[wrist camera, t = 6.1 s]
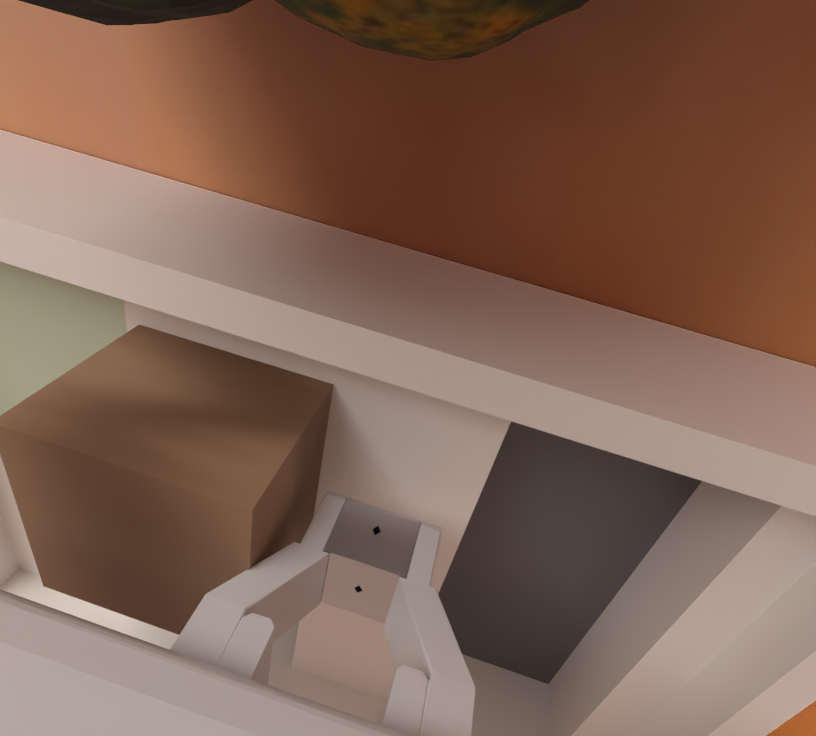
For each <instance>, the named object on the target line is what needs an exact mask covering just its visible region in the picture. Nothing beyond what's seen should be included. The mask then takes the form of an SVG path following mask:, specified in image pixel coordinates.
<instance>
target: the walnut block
mask: <svg viewBox="0 0 816 736" xmlns="http://www.w3.org/2000/svg"><path fill="white" fill-rule="evenodd" d="M333 385H334V384H331V383H328V382H324V381H321V380H318V379H315V378H311V377H308V376H305V375H302V374H298V373H295V372H292V371H289V370H285V369H282V368H279V367H276V366H272V365H269V364H266V363H263V362H259V361H256V360H253V359H250V358H246V357H243V356H240V355H237V354H233V353H230V352H227V351H224V350H220V349H217V348H214V347H211V346H207V345H204V344H201V343H198V342H194V341H191V340H188V339H185V338H182V337H178V336H175V335H172V334H169V333H165V332H162V331H159V330H156V329H152V328H149V327H146V326H143V325H138V326H136V327H134V328H133V329H131V330H130V331H128V332H127V333H125V334H124V335H122V336H121V337H119V338H118V339H116V340H115V341H113V342H112V343H110V344H109V345H107V346H106V347H104V348H102V349H101V350H99V351H98V352H96V353H95V354H93V355H92V356H90V357H89V358H87V359H86V360H84V361H83V362H81V363H80V364H78V365H77V366H75V367H74V368H72V369H70V370H69V371H67V372H66V373H64V374H63V375H61V376H60V377H58V378H57V379H55V380H54V381H52V382H51V383H49V384H48V385H46V386H45V387H43V388H42V389H40V390H38V391H37V392H35V393H34V394H32V395H31V396H29V397H28V398H26V399H25V400H23V401H22V402H20V403H19V404H17V405H16V406H14V407H13V408H11V409H10V410H8V411H6V412H5V413H3V414H2V415H0V455H1V458H2V461H3V464H4V467H5V470H6V473H7V476H8V480H9V483H10V486H11V489H12V492H13V495H14V498H15V501H16V504H17V507H18V510H19V513H20V516H21V519H22V522H23V525H24V529H25V532H26V535H27V538H28V541H29V544H30V547H31V550H32V553H33V556H34V559H35V562H36V565H37V568H38V571H39V574H40V577H41V581H42V584H43V586H44V587H47V588H50V589H52V590H55V591H58V592H61V593H64V594H66V595H69V596H72V597H75V598H78V599H80V600H83V601H86V602H89V603H92V604H94V605H97V606H100V607H103V608H105V609H108V610H111V611H114V612H117V613H119V614H122V615H125V616H128V617H131V618H133V619H136V620H139V621H142V622H145V623H147V624H150V625H153V626H156V627H158V628H161V629H164V630H167V631H170V632H172V633H175V634H178V635H180V633H181V632H182V630H183V629H184V627H185V626H186V624H187V622H188V621H189V619H190V618H191V616H192V615H193V613H194V611H195V610H196V608H197V607H198V605H199V604H200V602H201V600H202V599H203V597H204V596H205V594H207V593H208V592H210V591H212V590H213V589H215V588H217V587H218V586H220V585H222V584H224V583H225V582H227V581H229V580H230V579H232V578H234V577H235V576H237V575H239V574H240V573H242V572H244V571H246V570H250V568H251V567H252V566H254V565H256V564H257V563H259V562H261V561H263V560H264V559H266V558H268V557H269V556H271V555H273V554H274V553H276V552H278V551H280V550H281V549H283V548H285V547H286V546H288V545H290V544H291V543H293V542H297V543H301V541H302V539H303V537H304V535H305V533H306V531H307V529H308V527H309V525H310V523H311V521H312V519H313V517H314V510H315V503H316V497H317V490H318V484H319V477H320V470H321V464H322V457H323V451H324V444H325V437H326V431H327V424H328V418H329V411H330V405H331V398H332V391H333Z"/></svg>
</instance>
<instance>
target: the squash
mask: <svg viewBox="0 0 816 736" xmlns="http://www.w3.org/2000/svg"><path fill="white" fill-rule="evenodd" d="M19 1H23V2H26V3H30V4H33V5H37V6H41V7H44V8H48V9H51V10H55V11H58V12H62V13H65V14H69V15H73V16H76V17H80V18H83V19H87V20H90V21H94V22H97V23H101V24H105V25H133V24H150V23H160V22H165V21H170V20H180V19H187V18H194V17H202V16H209V15H216V14H222V13H227V12H231V11H233V10H235V9H237V8H239V7H241V6H243V5H245V4H247V3H249V2H251V1H252V0H19ZM276 1H277V2H278V3H280V4H281V5H283V6H284V7H285V8H287V9H288V10H290V11H291V12H292V13H294V14H295V15H297V16H298V17H300V18H302V19H304V20H307V21H309V22H311V23H313V24H315V25H317V26H320V27H322V28H324V29H326V30H328V31H330V32H333V33H335V34H337V35H339V36H341V37H344V38H346V39H348V40H350V41H352V42H354V43H357V44H359V45H361V46H363V47H367V48H372V49H377V50H382V51H387V52H392V53H397V54H402V55H407V56H412V57H417V58H422V59H427V60H442V59H454V58H466V57H471V56H474V55H476V54H478V53H481V52H483V51H486V50H488V49H490V48H493V47H495V46H498V45H500V44H503V43H505V42H507V41H510V40H511V39H512V38H514V37H515V36H517V35H518V34H520V33H521V32H523V31H525V30H527V29H529V28H532V27H534V26H536V25H539V24H541V23H543V22H545V21H548V20H550V19H553V18H555V17H558V16H560V15H563V14H565V13H568V12H570V11H573V10H575V9H578V8H579V7H581V6H582V5H583V4H585V3H586V2H587V1H589V0H276Z"/></svg>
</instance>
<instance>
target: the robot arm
mask: <svg viewBox="0 0 816 736" xmlns="http://www.w3.org/2000/svg"><path fill="white" fill-rule="evenodd" d="M441 532H442V530H441V527H439V526H435V525H432V524H429V523H426V522H423V521H421V520H418V519H414V518H411V517H408V516H405V515H401V514H398V513H395V512H392V511H388V510H385V509H380V508H377V507H375V506H372V505H369V504H366V503H363V502H360V501H358V500H355V499H352V498H349V497H345V496H343V495H340V494H337V493H334V492H331V491H328V492H327V493H326V494H325V495H324V497H323V499H322V501H321V503H320V505H319V507H318V509H317V511H316V513H315V515H314V517H313V519H312V521H311V523H310V525H309V527H308V529H307V531H306V533H305V535H304V537H303V539H302V541H301V543H297V542H293V543H291V544H290V545H288V546H286V547H285V548H283V549H281V550H280V551H278V552H276V553H274V554H273V555H271V556H269V557H268V558H266V559H264V560H263V561H261V562H259V563H257V564H256V565H254V566H252V567H251V568H250V570H246V571H244V572H242V573H240V574H239V575H237V576H235V577H234V578H232V579H230V580H229V581H227V582H225V583H224V584H222V585H220V586H218V587H217V588H215V589H213V590H212V591H210V592H208V593H207V594H205V596H204V597H203V599H202V600H201V602H200V604H199V605H198V607H197V608H196V610H195V611H194V613H193V615H192V616H191V618H190V619H189V621H188V622H187V624H186V626H185V627H184V629H183V630H182V632H181V633H180V635H179V637H178V638H177V640H176V641H175V643H174V644H173V646H172V648H171V649H170V650H169V649H166V648H163V647H161V646H158V645H155V644H152V643H149V642H146V641H144V640H141V639H138V638H135V637H132V636H130V635H127V634H124V633H121V632H118V631H116V630H113V629H110V628H107V627H104V626H102V625H99V624H96V623H93V622H90V621H88V620H85V619H82V618H79V617H76V616H74V615H71V614H68V613H65V612H62V611H60V610H57V609H54V608H51V607H48V606H46V605H43V604H40V603H37V602H34V601H32V600H29V599H26V598H23V597H20V596H18V595H15V594H12V593H9V592H6V591H4V590H1V589H0V736H471V729H472V720H473V710H474V700H475V691H476V688H475V685H474V683H473V680H472V678H471V675H470V673H469V670H468V668H467V665H466V663H465V660H464V658H463V655H462V653H461V650H460V648H459V645H458V643H457V640H456V638H455V635H454V633H453V630H452V628H451V625H450V623H449V620H448V617H447V615H446V612H445V610H444V607H443V605H442V602H441V600H440V597H439V595H438V592H437V590H436V589H435V588H432V587H430V585H431V580H432V575H433V571H434V566H435V561H436V556H437V551H438V547H439V542H440V537H441ZM320 602H322V603H325V604H328V605H331V606H334V607H338V608H341V609H344V610H347V611H351V612H354V613H356V614H359V615H362V616H364V617H367V618H370V619H372V620H375V621H378V622H381V623H383V624H384V628H385V633H386V637H387V641H388V645H389V650H390V654H391V658H392V662H393V667H394V671H395V675H394V677H393V680H392V683H391V685H390V688H389V690H388V693H387V696H386V698H385V701H384V704H383V706H382V709H381V711H380V714H379V717H378V719H377V722H376V723H374V722H371V721H368V720H365V719H362V718H360V717H357V716H354V715H351V714H348V713H346V712H343V711H340V710H337V709H334V708H332V707H329V706H326V705H323V704H320V703H318V702H315V701H312V700H309V699H306V698H304V697H301V696H298V695H295V694H292V693H290V692H287V691H284V690H281V689H278V688H276V687H273V686H270V685H268V681H269V672H270V663H271V654H272V645H273V643H274V642H275V641H276V640H277V639H278V638H280V637H281V636H282V635H283V634H285V633H286V632H287V631H288V630H289V629H291V628H292V627H293V626H294V625H295V624H297V623H298V622H299V621H300V620H302V619H303V618H304V617H305V616H306V615H308V614H309V613H310V612H311V611H313V610H314V609H315V608H316V607H317V606H319V605H320Z"/></svg>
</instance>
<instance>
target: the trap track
mask: <svg viewBox="0 0 816 736" xmlns="http://www.w3.org/2000/svg"><path fill="white" fill-rule="evenodd" d="M138 325H143V326H146V327H149V328H152V329H156V330H159V331H162V332H165V333H169V334H172V335H175V336H178V337H182V338H185V339H188V340H191V341H194V342H198V343H201V344H204V345H207V346H211V347H214V348H217V349H220V350H224V351H227V352H230V353H233V354H237V355H240V356H243V357H246V358H250V359H253V360H256V361H259V362H263V363H266V364H269V365H272V366H276V367H279V368H282V369H285V370H289V371H292V372H295V373H298V374H302V375H305V376H308V377H311V378H315V379H318V380H321V381H324V382H328V383H331V384H334V385H333V391H332V398H331V405H330V411H329V418H328V424H327V431H326V437H325V444H324V451H323V457H322V464H321V470H320V477H319V484H318V490H317V497H316V503H315V510H314V515H315V513H316V511H317V509H318V507H319V505H320V503H321V501H322V499H323V497H324V495H325V494H326V493H327V492H328V491H331V492H334V493H337V494H340V495H343V496H345V497H349V498H352V499H355V500H358V501H360V502H363V503H366V504H369V505H372V506H375V507H377V508H380V509H385V510H388V511H392V512H395V513H398V514H401V515H405V516H408V517H411V518H414V519H418V520H421V521H423V522H426V523H429V524H432V525H435V526H439V527H441V530H442V532H441V537H440V542H439V547H438V551H437V556H436V561H435V566H434V571H433V575H432V580H431V585H430V587H432V588H435V589H436V590H437V592H438V595H439V597H440V600H441V602H442V605H443V607H444V610H445V612H446V615H447V617H448V620H449V623H450V625H451V628H452V630H453V633H454V635H455V638H456V640H457V643H458V645H459V648H460V650H461V653H462V655H463V658H464V660H465V663H466V665H467V668H468V670H469V673H470V675H471V678H472V680H473V683H474V685H475V688H476V691H475V700H474V710H473V720H472V729H471V736H766V735H768V734H769V733H770V732H772V731H773V730H775V729H776V728H778V727H779V726H780V725H782V724H783V723H785V722H786V721H787V720H789V719H790V718H792V717H793V716H795V715H796V714H797V713H799V712H800V711H802V710H803V709H804V708H806V707H807V706H809V705H810V704H812V703H813V702H814V701H816V367H814V366H811V365H807V364H804V363H800V362H797V361H793V360H790V359H786V358H783V357H780V356H776V355H773V354H769V353H766V352H762V351H759V350H756V349H752V348H749V347H745V346H742V345H738V344H735V343H732V342H728V341H725V340H721V339H718V338H714V337H711V336H707V335H704V334H701V333H697V332H694V331H690V330H687V329H683V328H680V327H677V326H673V325H670V324H666V323H663V322H659V321H656V320H653V319H649V318H646V317H642V316H639V315H635V314H632V313H628V312H625V311H622V310H618V309H615V308H611V307H608V306H604V305H601V304H598V303H594V302H591V301H587V300H584V299H580V298H577V297H574V296H570V295H567V294H563V293H560V292H556V291H553V290H549V289H546V288H543V287H539V286H536V285H532V284H529V283H525V282H522V281H519V280H515V279H512V278H508V277H505V276H501V275H498V274H494V273H491V272H488V271H484V270H481V269H477V268H474V267H470V266H467V265H464V264H460V263H457V262H453V261H450V260H446V259H443V258H440V257H436V256H433V255H429V254H426V253H422V252H419V251H415V250H412V249H409V248H405V247H402V246H398V245H395V244H391V243H388V242H385V241H381V240H378V239H374V238H371V237H367V236H364V235H361V234H357V233H354V232H350V231H347V230H343V229H340V228H336V227H333V226H330V225H326V224H323V223H319V222H316V221H312V220H309V219H306V218H302V217H299V216H295V215H292V214H288V213H285V212H282V211H278V210H275V209H271V208H268V207H264V206H261V205H257V204H254V203H251V202H247V201H244V200H240V199H237V198H233V197H230V196H227V195H223V194H220V193H216V192H213V191H209V190H206V189H203V188H199V187H196V186H192V185H189V184H185V183H182V182H178V181H175V180H172V179H168V178H165V177H161V176H158V175H154V174H151V173H148V172H144V171H141V170H137V169H134V168H130V167H127V166H124V165H120V164H117V163H113V162H110V161H106V160H103V159H99V158H96V157H93V156H89V155H86V154H82V153H79V152H75V151H72V150H69V149H65V148H62V147H58V146H55V145H51V144H48V143H45V142H41V141H38V140H34V139H31V138H27V137H24V136H20V135H17V134H14V133H10V132H7V131H3V130H0V415H2V414H3V413H5V412H6V411H8V410H10V409H11V408H13V407H14V406H16V405H17V404H19V403H20V402H22V401H23V400H25V399H26V398H28V397H29V396H31V395H32V394H34V393H35V392H37V391H38V390H40V389H42V388H43V387H45V386H46V385H48V384H49V383H51V382H52V381H54V380H55V379H57V378H58V377H60V376H61V375H63V374H64V373H66V372H67V371H69V370H70V369H72V368H74V367H75V366H77V365H78V364H80V363H81V362H83V361H84V360H86V359H87V358H89V357H90V356H92V355H93V354H95V353H96V352H98V351H99V350H101V349H102V348H104V347H106V346H107V345H109V344H110V343H112V342H113V341H115V340H116V339H118V338H119V337H121V336H122V335H124V334H125V333H127V332H128V331H130V330H131V329H133V328H134V327H136V326H138ZM0 589H1V590H4V591H6V592H9V593H12V594H15V595H18V596H20V597H23V598H26V599H29V600H32V601H34V602H37V603H40V604H43V605H46V606H48V607H51V608H54V609H57V610H60V611H62V612H65V613H68V614H71V615H74V616H76V617H79V618H82V619H85V620H88V621H90V622H93V623H96V624H99V625H102V626H104V627H107V628H110V629H113V630H116V631H118V632H121V633H124V634H127V635H130V636H132V637H135V638H138V639H141V640H144V641H146V642H149V643H152V644H155V645H158V646H161V647H163V648H166V649H169V650H170V649H171V648H172V646H173V644H174V643H175V641H176V640H177V638H178V637H179V635H178V634H175V633H172V632H170V631H167V630H164V629H161V628H158V627H156V626H153V625H150V624H147V623H145V622H142V621H139V620H136V619H133V618H131V617H128V616H125V615H122V614H119V613H117V612H114V611H111V610H108V609H105V608H103V607H100V606H97V605H94V604H92V603H89V602H86V601H83V600H80V599H78V598H75V597H72V596H69V595H66V594H64V593H61V592H58V591H55V590H52V589H50V588H47V587H44V586H43V584H42V581H41V577H40V574H39V571H38V568H37V565H36V562H35V559H34V556H33V553H32V550H31V547H30V544H29V541H28V538H27V535H26V532H25V529H24V525H23V522H22V519H21V516H20V513H19V510H18V507H17V504H16V501H15V498H14V495H13V492H12V489H11V486H10V483H9V480H8V476H7V473H6V470H5V467H4V464H3V461H2V458H1V455H0ZM394 675H395V671H394V667H393V662H392V658H391V654H390V650H389V645H388V641H387V637H386V633H385V628H384V624H383V623H381V622H378V621H375V620H372V619H370V618H367V617H364V616H362V615H359V614H356V613H354V612H351V611H347V610H344V609H341V608H338V607H334V606H331V605H328V604H325V603H322V602H320V605H319V606H317V607H316V608H315V609H314V610H313V611H311V612H310V613H309V614H308V615H306V616H305V617H304V618H303V619H302V620H300V621H299V622H298V623H297V624H295V625H294V626H293V627H292V628H291V629H289V630H288V631H287V632H286V633H285V634H283V635H282V636H281V637H280V638H278V639H277V640H276V641H275V642H274V643H273V645H272V654H271V663H270V672H269V681H268V685H270V686H273V687H276V688H278V689H281V690H284V691H287V692H290V693H292V694H295V695H298V696H301V697H304V698H306V699H309V700H312V701H315V702H318V703H320V704H323V705H326V706H329V707H332V708H334V709H337V710H340V711H343V712H346V713H348V714H351V715H354V716H357V717H360V718H362V719H365V720H368V721H371V722H374V723H376V722H377V719H378V717H379V714H380V711H381V709H382V706H383V704H384V701H385V698H386V696H387V693H388V690H389V688H390V685H391V683H392V680H393V677H394Z"/></svg>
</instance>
